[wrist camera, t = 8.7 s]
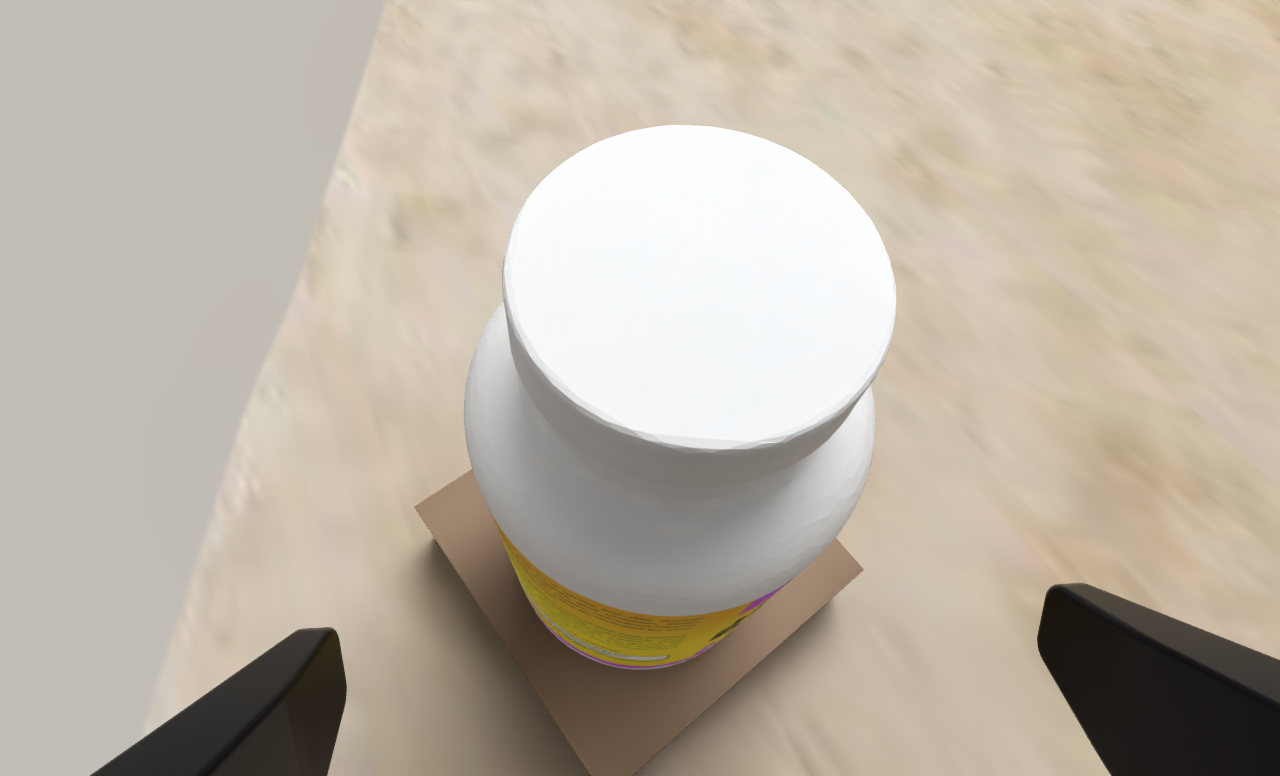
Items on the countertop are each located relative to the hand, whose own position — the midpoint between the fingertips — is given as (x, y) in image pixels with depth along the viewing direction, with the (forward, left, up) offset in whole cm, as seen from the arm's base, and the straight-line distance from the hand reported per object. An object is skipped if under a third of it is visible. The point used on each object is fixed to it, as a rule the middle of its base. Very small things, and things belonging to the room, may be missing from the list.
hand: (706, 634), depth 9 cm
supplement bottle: (+3, -2, -10) cm, 11 cm away
